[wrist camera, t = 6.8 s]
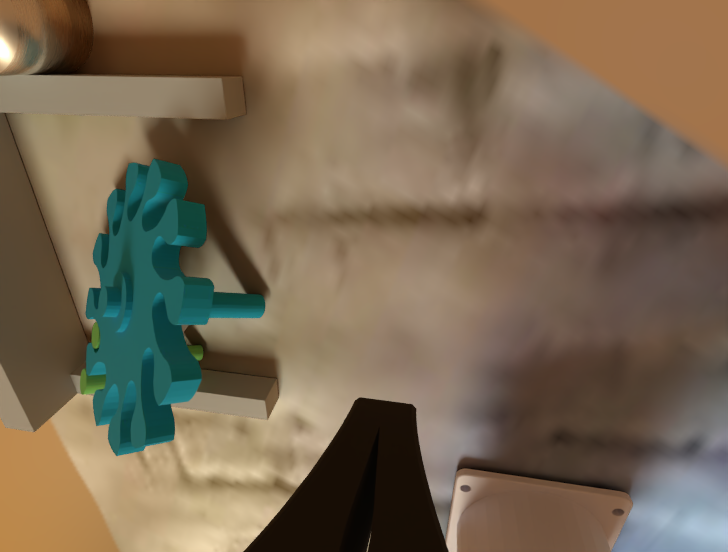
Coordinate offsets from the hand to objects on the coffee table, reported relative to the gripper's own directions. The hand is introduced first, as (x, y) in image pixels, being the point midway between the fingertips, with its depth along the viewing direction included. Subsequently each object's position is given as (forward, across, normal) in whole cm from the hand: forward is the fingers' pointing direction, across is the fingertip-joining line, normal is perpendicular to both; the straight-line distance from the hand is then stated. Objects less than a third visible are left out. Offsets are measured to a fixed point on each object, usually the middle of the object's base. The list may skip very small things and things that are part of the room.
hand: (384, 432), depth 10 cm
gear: (+8, +10, 0) cm, 12 cm away
